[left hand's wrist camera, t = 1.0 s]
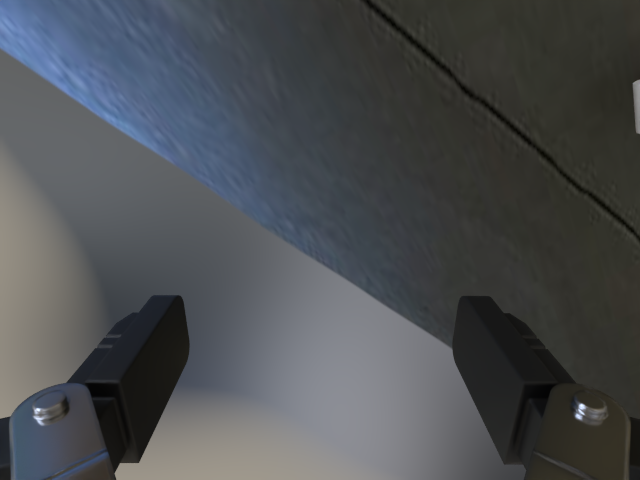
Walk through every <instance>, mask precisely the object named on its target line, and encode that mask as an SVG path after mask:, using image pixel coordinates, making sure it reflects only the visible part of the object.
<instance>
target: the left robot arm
mask: <svg viewBox="0 0 640 480" xmlns="http://www.w3.org/2000/svg"><path fill="white" fill-rule="evenodd" d="M188 355H189V335H188V329H187V322H186V315H185V309H184V302H183V299H182V297H181V296H179V295H154V296H152V297H151V298H150V299H149V300H148V302H147V303H146V304H145V305H144V307H143V308H142V309H141V310H140V312H139V313H132V314H130V315H128V316H127V317H125V318H124V319H122V320H121V321H119V322H118V323H116V324H115V326H114V327H113V328H112V329H111V330H110V332H109V333H108V334H107V335H106V338H104V339H103V340H102V341H101V342H100V343H99V345H98V348H95V349H94V351H93V352H92V353H91V354H90V355H89V356H88V358H87V359H86V360H85V361H84V362H83V364H82V365H81V366H80V367H79V368H78V370H77V371H76V372H75V373H74V374H73V375H72V377H71V378H70V379H69V380H68V381H67V383H63V384H58V385H54V386H51V387H48V388H46V389H43V390H41V391H39V392H37V393H35V394H33V395H32V396H30V397H29V398H27V399H26V400H25V401H23V402H22V403H21V404H20V405H19V406H18V407H17V408H16V409H15V410H14V412H13V413H12V415H11V416H10V417H6V418H2V419H0V480H116V477H115V474H114V473H115V471H116V469H117V468H118V466H119V464H120V463H139V461H140V459H141V457H142V455H143V453H144V451H145V449H146V447H147V445H148V442H149V440H150V438H151V436H152V434H153V432H154V430H155V428H156V426H157V424H158V422H159V419H160V417H161V415H162V413H163V411H164V409H165V407H166V405H167V402H168V401H169V398H170V396H171V394H172V392H173V390H174V388H175V386H176V384H177V382H178V379H179V377H180V375H181V373H182V371H183V369H184V367H185V365H186V362H187V360H188ZM453 356H454V360H455V363H456V365H457V367H458V370H459V372H460V374H461V376H462V378H463V380H464V382H465V384H466V386H467V388H468V390H469V392H470V394H471V397H472V399H473V401H474V403H475V405H476V407H477V409H478V411H479V413H480V415H481V417H482V419H483V422H484V424H485V426H486V428H487V430H488V432H489V434H490V436H491V438H492V440H493V442H494V444H495V446H496V449H497V451H498V453H499V455H500V457H501V459H502V461H503V463H504V464H523V465H524V467H525V469H526V474H525V477H524V480H640V419H636V418H632V417H629V415H628V413H627V412H626V410H625V409H624V408H623V407H622V406H621V405H620V404H619V403H618V402H617V401H615V400H614V399H613V398H611V397H610V396H608V395H607V394H605V393H603V392H601V391H599V390H597V389H594V388H592V387H589V386H586V385H582V384H577V383H576V382H575V381H574V380H573V379H572V378H571V376H570V375H569V374H568V373H567V372H566V370H565V369H564V368H563V367H562V366H561V365H560V363H559V362H558V361H557V360H556V359H555V358H554V356H553V355H552V354H551V353H550V352H549V350H548V349H545V346H544V345H543V343H542V342H541V341H540V340H539V339H537V338H536V335H535V334H534V333H533V332H532V330H531V329H530V328H529V327H528V326H527V325H526V324H525V323H524V322H522V321H521V320H519V319H517V318H516V317H514V316H513V315H511V314H510V313H503V312H502V311H501V309H500V308H499V307H498V306H497V304H496V303H495V302H494V301H493V299H492V298H491V297H489V296H462V297H461V298H460V300H459V303H458V310H457V316H456V323H455V329H454V336H453Z"/></svg>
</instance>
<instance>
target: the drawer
mask: <svg viewBox="0 0 640 480" xmlns="http://www.w3.org/2000/svg"><path fill="white" fill-rule="evenodd" d="M633 96H634V110H635V124H636V133H638V134H640V80H637V81H635V82H634V83H633Z"/></svg>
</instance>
